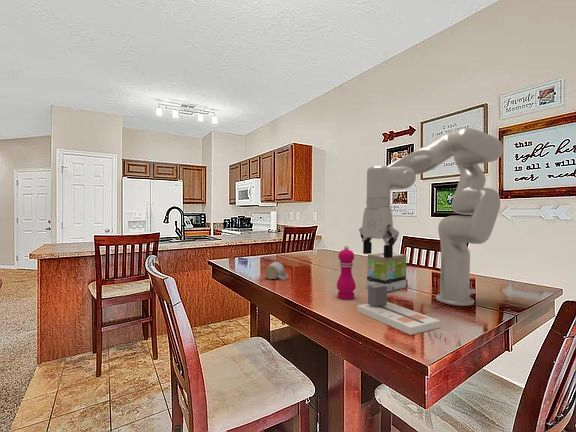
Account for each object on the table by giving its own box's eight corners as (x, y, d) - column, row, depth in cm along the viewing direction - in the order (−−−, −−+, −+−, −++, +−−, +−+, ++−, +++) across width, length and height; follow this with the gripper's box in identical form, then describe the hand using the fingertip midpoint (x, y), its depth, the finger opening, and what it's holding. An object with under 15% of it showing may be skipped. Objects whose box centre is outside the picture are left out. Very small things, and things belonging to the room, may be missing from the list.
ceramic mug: (263, 279, 150) (264, 263, 150) (269, 276, 158) (269, 261, 158) (284, 281, 147) (285, 265, 147) (289, 278, 155) (290, 262, 155)
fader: (379, 301, 106) (379, 284, 106) (386, 304, 103) (387, 286, 103) (368, 303, 104) (368, 285, 104) (375, 306, 101) (375, 287, 101)
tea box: (386, 293, 127) (387, 256, 126) (366, 288, 134) (366, 254, 134) (406, 287, 136) (407, 253, 136) (386, 283, 144) (386, 251, 144)
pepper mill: (355, 300, 116) (356, 246, 116) (336, 299, 117) (336, 246, 117) (355, 295, 123) (355, 244, 123) (336, 294, 124) (337, 244, 124)
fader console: (384, 306, 109) (384, 300, 109) (440, 327, 90) (440, 320, 90) (357, 311, 104) (357, 305, 104) (410, 335, 84) (410, 327, 84)
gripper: (352, 204, 109) (351, 252, 110) (389, 203, 94) (388, 260, 94) (369, 204, 113) (368, 251, 113) (407, 203, 97) (406, 258, 98)
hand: (377, 255), depth 104 cm, fingers open, 9 cm apart
